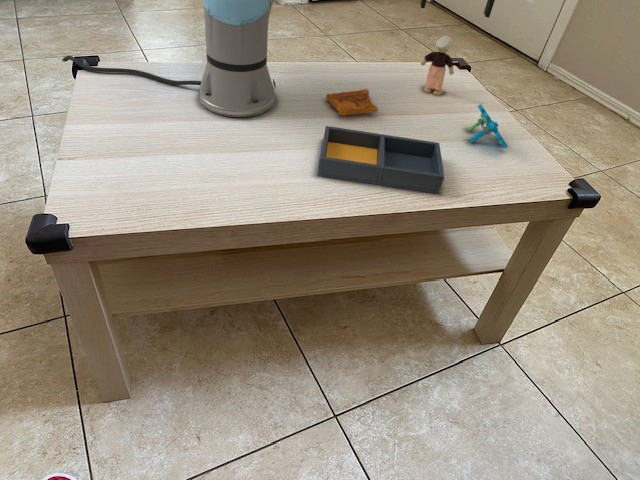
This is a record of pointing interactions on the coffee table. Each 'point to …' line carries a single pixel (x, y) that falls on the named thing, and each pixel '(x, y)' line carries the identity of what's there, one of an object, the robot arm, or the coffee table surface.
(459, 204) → the coffee table surface
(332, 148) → the divided tray
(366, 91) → the pottery fragment
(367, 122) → the coffee table surface
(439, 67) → the grandmother figurine
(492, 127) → the blue green toy windmill
